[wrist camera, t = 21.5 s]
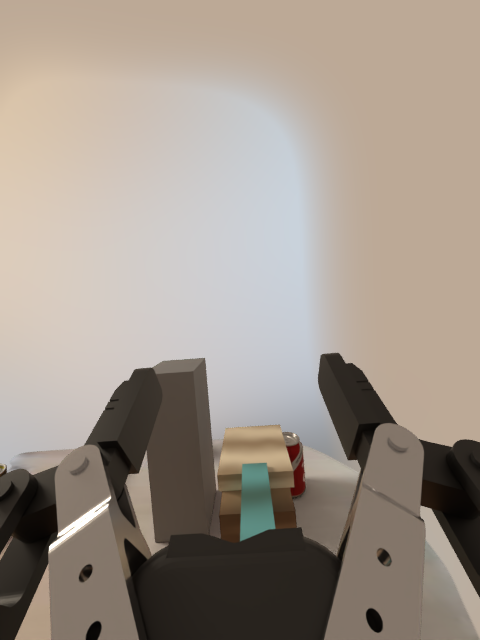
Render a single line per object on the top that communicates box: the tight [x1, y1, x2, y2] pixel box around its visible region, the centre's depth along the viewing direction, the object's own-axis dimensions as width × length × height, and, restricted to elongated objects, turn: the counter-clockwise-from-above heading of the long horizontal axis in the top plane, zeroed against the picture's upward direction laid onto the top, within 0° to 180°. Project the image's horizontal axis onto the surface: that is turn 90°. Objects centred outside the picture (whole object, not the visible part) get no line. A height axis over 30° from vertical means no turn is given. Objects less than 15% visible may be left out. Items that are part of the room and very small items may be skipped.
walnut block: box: [219, 488, 297, 543], centre depth 30 cm, size 12×8×21 cm, turn 178°
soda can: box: [282, 432, 306, 497], centre depth 54 cm, size 7×7×12 cm
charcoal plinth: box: [147, 358, 216, 542], centre depth 49 cm, size 12×10×32 cm
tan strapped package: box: [217, 425, 294, 541], centre depth 28 cm, size 21×9×2 cm, turn 178°
